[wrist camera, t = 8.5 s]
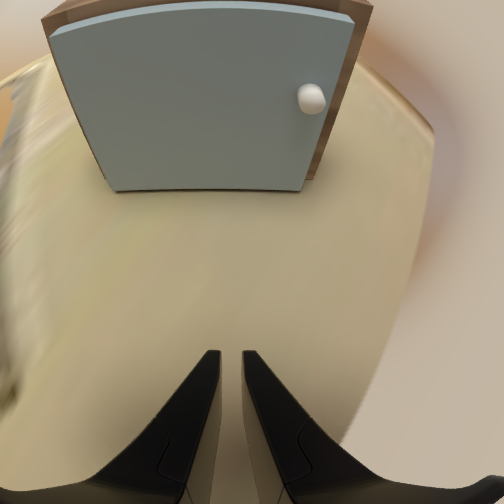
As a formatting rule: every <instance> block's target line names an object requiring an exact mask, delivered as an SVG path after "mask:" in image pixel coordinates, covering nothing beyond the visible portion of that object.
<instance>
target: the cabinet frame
mask: <svg viewBox="0 0 504 504" xmlns="http://www.w3.org/2000/svg"><path fill="white" fill-rule="evenodd" d="M201 1H249V2H266V3H277V4H287V5H295V6H302V7H309V8H315V9H321V10H326V11H332V12H336V13H341V14H346V15H348V16H349V17H350V18H351V19H352V21H353V22H354V23H355V26H354V29H353V32H352V36H351V39H350V42H349V45H348V49H347V52H346V55H345V58H344V62H343V65H342V68H341V71H340V74H339V78H338V81H337V84H336V87H335V90H334V93H333V96H332V99H331V103H330V106H329V109H328V112H327V115H326V118H325V121H324V124H323V127H322V130H321V133H320V136H319V139H318V142H317V145H316V148H315V151H314V154H313V157H312V160H311V163H310V166H309V169H308V171H307V174H306V177H305V179H311V180H313V178H314V176H315V173H316V171H317V168H318V165H319V163H320V160H321V157H322V155H323V152H324V149H325V146H326V144H327V141H328V138H329V136H330V133H331V130H332V127H333V125H334V122H335V119H336V116H337V114H338V111H339V108H340V105H341V102H342V100H343V97H344V94H345V91H346V88H347V85H348V82H349V80H350V77H351V74H352V71H353V68H354V65H355V62H356V59H357V56H358V53H359V50H360V47H361V44H362V41H363V38H364V35H365V32H366V29H367V26H368V23H369V20H370V16H371V13H372V10H373V6H372V5H371V4H370V3H369V2H368V1H367V0H67V1H65V2H64V3H62V4H61V5H60V6H58V7H57V8H55V9H54V10H53V11H51V12H50V13H49V14H47V15H46V16H45V17H43V18H42V19H41V22H42V25H43V28H44V31H45V35H46V38H47V41H48V44H49V47H50V50H51V53H52V56H53V59H54V62H55V64H56V67H57V70H58V73H59V75H60V78H61V81H62V83H63V86H64V88H65V91H66V94H67V96H68V99H69V101H70V103H71V106H72V108H73V111H74V113H75V115H76V118H77V120H78V122H79V125H80V127H81V129H82V131H83V134H84V136H85V138H86V140H87V142H88V145H89V147H90V149H91V151H92V153H93V155H94V157H95V159H96V162H97V164H98V166H99V168H100V170H101V172H102V174H103V176H104V178H105V179H106V177H105V175H104V173H103V171H102V169H101V167H100V164H99V162H98V160H97V158H96V156H95V154H94V152H93V150H92V147H91V145H90V143H89V141H88V139H87V136H86V134H85V132H84V130H83V127H82V125H81V123H80V120H79V118H78V116H77V113H76V111H75V109H74V106H73V104H72V101H71V99H70V96H69V94H68V91H67V89H66V86H65V83H64V81H63V78H62V75H61V73H60V70H59V67H58V64H57V62H56V59H55V56H54V53H53V50H52V47H51V44H50V41H49V37H50V36H51V35H52V34H53V33H54V32H55V31H56V30H57V29H58V28H59V27H62V26H65V25H68V24H72V23H75V22H78V21H82V20H85V19H89V18H93V17H97V16H101V15H105V14H109V13H114V12H119V11H124V10H129V9H135V8H141V7H148V6H155V5H163V4H172V3H184V2H201Z"/></svg>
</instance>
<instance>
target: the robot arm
mask: <svg viewBox="0 0 504 504" xmlns="http://www.w3.org/2000/svg"><path fill="white" fill-rule="evenodd" d="M241 376H242V408H243V419H244V426H245V431H246V436H247V442H248V447H249V452H250V457H251V462H252V467H253V472H254V477H255V482H256V487H257V491H258V496H259V501H260V504H494V503H495V502H496V501H498V500H499V499H500V498H502V497H503V496H504V477H502V476H496V475H489V476H487V477H485V478H483V479H481V480H480V481H478V482H477V483H475V484H473V485H470V486H467V487H463V488H457V489H445V488H435V487H426V486H419V485H411V484H406V483H400V482H394V481H390V480H387V479H384V478H382V477H380V476H378V475H376V474H375V473H373V472H372V471H370V470H369V469H368V468H366V467H365V466H364V465H363V464H361V463H360V462H359V461H358V460H356V459H355V458H354V457H353V456H351V455H350V454H349V453H348V452H347V451H345V450H344V449H343V448H342V447H341V446H339V445H338V444H337V443H336V442H335V441H334V440H333V439H331V438H330V437H329V436H328V435H327V434H326V433H325V432H324V431H323V430H322V428H321V427H320V426H319V425H318V424H317V423H316V422H315V421H314V420H313V418H310V415H309V414H308V413H307V412H306V411H305V409H304V408H303V407H302V406H301V405H300V404H299V402H298V401H297V400H296V399H295V398H294V397H293V395H292V394H291V393H290V392H289V391H288V389H287V388H286V387H285V386H284V385H283V383H282V382H281V381H280V380H279V379H278V377H277V376H276V375H275V374H274V373H273V371H272V370H271V369H270V368H269V367H268V365H267V364H266V363H265V362H264V360H263V359H262V358H261V357H260V355H259V354H258V353H257V352H256V351H255V350H244V351H242V369H241ZM221 416H222V357H221V351H220V350H208V351H207V352H206V353H205V354H204V356H203V357H202V358H201V359H200V361H199V362H198V363H197V364H196V366H195V367H194V368H193V370H192V371H191V372H190V373H189V375H188V376H187V377H186V378H185V380H184V381H183V382H182V383H181V385H180V386H179V387H178V388H177V390H176V391H175V392H174V393H173V395H172V396H171V397H170V398H169V400H168V401H167V402H166V403H165V405H164V406H163V407H162V408H161V410H160V411H159V412H158V413H157V414H156V417H154V418H153V419H152V420H151V422H150V423H149V424H148V425H147V426H146V428H145V429H144V430H143V431H142V432H141V433H140V434H139V435H138V437H137V438H135V439H134V440H133V441H132V442H131V443H130V444H129V445H128V446H127V447H126V448H125V449H124V450H123V451H122V452H120V453H119V454H118V455H117V456H116V457H115V458H114V459H113V460H111V461H110V462H109V463H108V464H107V465H106V466H105V467H103V468H102V469H101V470H100V471H99V472H97V473H96V474H95V475H93V476H92V477H90V478H88V479H86V480H84V481H81V482H78V483H73V484H68V485H63V486H58V487H52V488H46V489H39V490H31V491H11V490H7V489H3V488H1V487H0V504H209V502H210V495H211V487H212V480H213V473H214V466H215V459H216V452H217V445H218V438H219V432H220V425H221Z"/></svg>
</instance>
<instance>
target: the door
mask: <svg viewBox="0 0 504 504" xmlns="http://www.w3.org/2000/svg"><path fill="white" fill-rule="evenodd" d="M354 26H355V23H354V22H353V21H352V19H351V18H350V17H349V16H348V15H346V14H341V13H336V12H332V11H326V10H321V9H315V8H309V7H302V6H295V5H287V4H277V3H266V2H249V1H201V2H184V3H172V4H163V5H155V6H148V7H141V8H135V9H129V10H124V11H119V12H114V13H109V14H105V15H101V16H97V17H93V18H89V19H85V20H82V21H78V22H75V23H72V24H68V25H65V26H62V27H59V28H58V29H57V30H56V31H55V32H54V33H53V34H52V35H51V36H50V37H49V41H50V44H51V47H52V50H53V53H54V56H55V59H56V62H57V64H58V67H59V70H60V73H61V75H62V78H63V81H64V83H65V86H66V89H67V91H68V94H69V96H70V99H71V101H72V104H73V106H74V109H75V111H76V113H77V116H78V118H79V120H80V123H81V125H82V127H83V130H84V132H85V134H86V136H87V139H88V141H89V143H90V145H91V147H92V150H93V152H94V154H95V156H96V158H97V160H98V162H99V164H100V167H101V169H102V171H103V173H104V175H105V177H106V179H107V181H108V183H109V185H110V187H111V189H112V191H125V190H152V189H266V190H293V191H301V189H302V186H303V183H304V180H305V177H306V174H307V171H308V169H309V166H310V163H311V160H312V157H313V154H314V151H315V148H316V145H317V142H318V139H319V136H320V133H321V130H322V127H323V124H324V121H325V118H326V115H327V112H328V109H329V106H330V103H331V99H332V96H333V93H334V90H335V87H336V84H337V81H338V78H339V74H340V71H341V68H342V65H343V62H344V58H345V55H346V52H347V49H348V45H349V42H350V39H351V36H352V32H353V29H354Z"/></svg>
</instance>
